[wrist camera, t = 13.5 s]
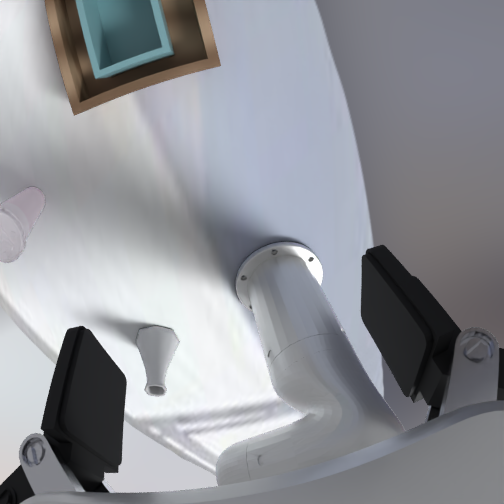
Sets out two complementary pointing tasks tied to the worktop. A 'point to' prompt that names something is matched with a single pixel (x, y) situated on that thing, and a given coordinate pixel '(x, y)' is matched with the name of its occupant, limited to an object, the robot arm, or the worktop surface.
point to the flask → (156, 356)
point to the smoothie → (18, 221)
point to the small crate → (123, 34)
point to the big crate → (105, 89)
